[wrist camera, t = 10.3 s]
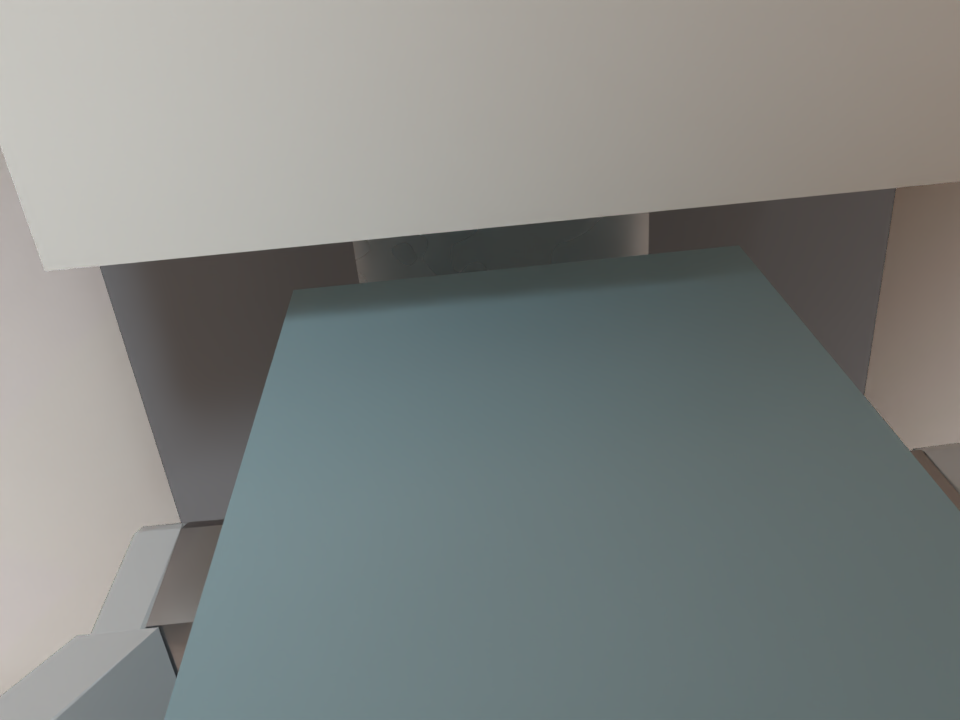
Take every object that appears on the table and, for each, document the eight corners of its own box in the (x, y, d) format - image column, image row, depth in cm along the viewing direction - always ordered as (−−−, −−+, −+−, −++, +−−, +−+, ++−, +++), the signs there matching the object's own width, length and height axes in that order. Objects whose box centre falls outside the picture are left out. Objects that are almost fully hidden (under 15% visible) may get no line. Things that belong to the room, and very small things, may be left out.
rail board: (-58, -377, 12) (-593, -640, 6) (942, -470, 13) (1508, -826, 6) (246, 644, 22) (173, 970, 16) (803, 587, 22) (960, 888, 16)
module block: (292, 289, 12) (112, 889, 5) (739, 246, 12) (1180, 777, 5) (341, 523, 14) (260, 1189, 7) (724, 483, 14) (1026, 1105, 7)
